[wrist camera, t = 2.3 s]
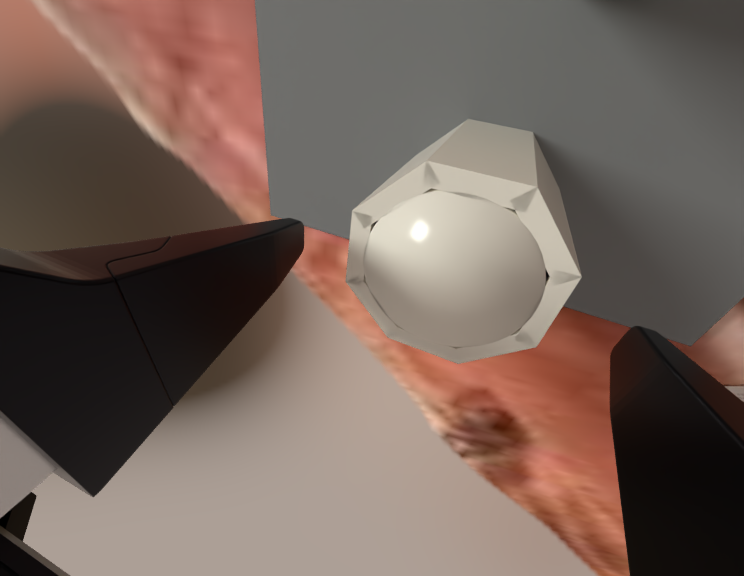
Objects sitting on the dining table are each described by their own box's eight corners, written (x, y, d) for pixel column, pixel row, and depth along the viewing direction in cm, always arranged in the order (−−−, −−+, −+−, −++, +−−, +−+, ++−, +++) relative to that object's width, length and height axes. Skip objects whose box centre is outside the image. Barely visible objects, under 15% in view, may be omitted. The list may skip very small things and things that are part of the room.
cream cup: (581, 141, 12) (626, 208, 7) (517, 273, 16) (512, 384, 10) (425, 109, 13) (358, 143, 8) (400, 238, 17) (341, 320, 12)
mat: (1663, -633, 4) (1915, -786, 3) (682, 331, 15) (691, 346, 14) (248, -391, 9) (222, -432, 8) (280, 209, 20) (270, 215, 19)
